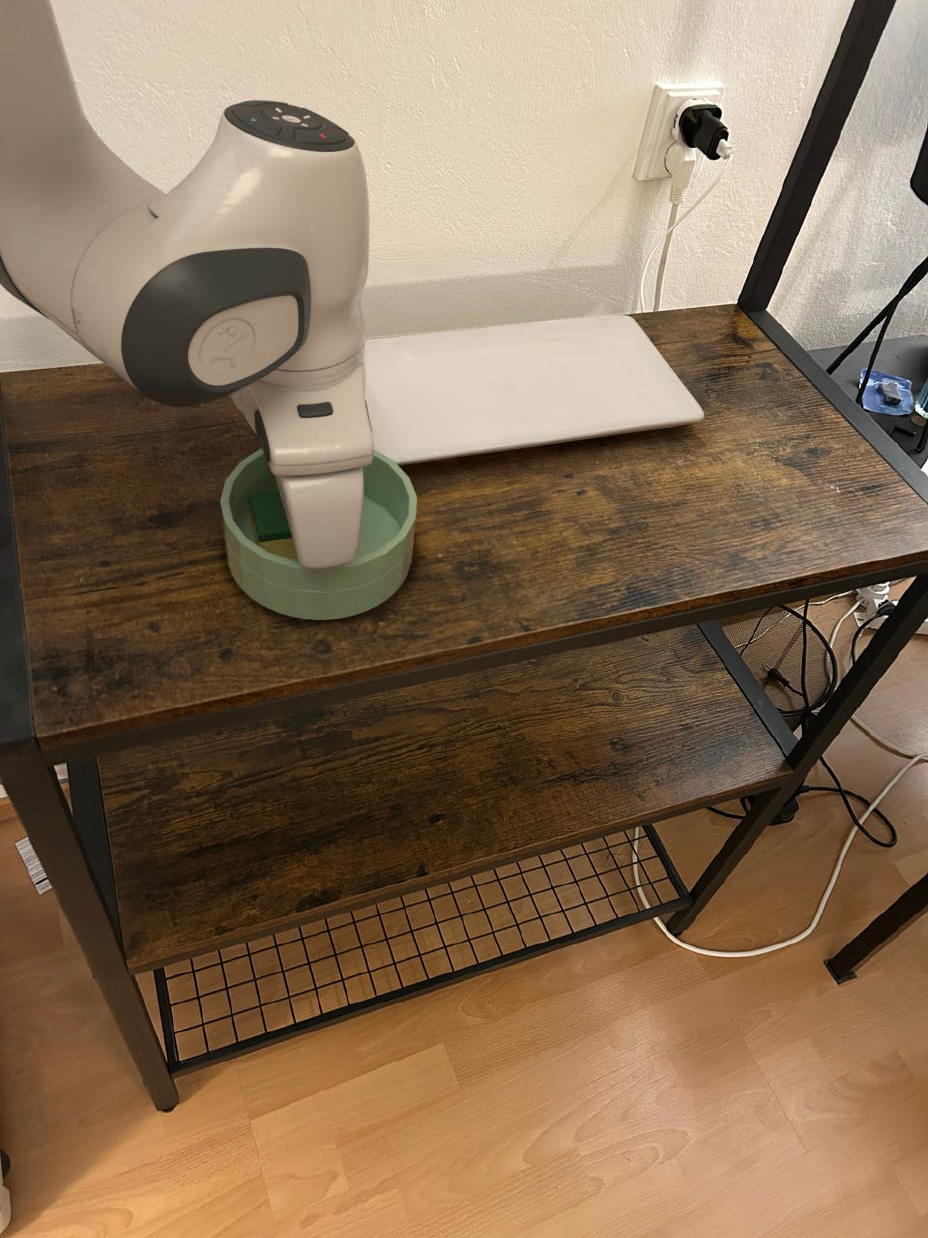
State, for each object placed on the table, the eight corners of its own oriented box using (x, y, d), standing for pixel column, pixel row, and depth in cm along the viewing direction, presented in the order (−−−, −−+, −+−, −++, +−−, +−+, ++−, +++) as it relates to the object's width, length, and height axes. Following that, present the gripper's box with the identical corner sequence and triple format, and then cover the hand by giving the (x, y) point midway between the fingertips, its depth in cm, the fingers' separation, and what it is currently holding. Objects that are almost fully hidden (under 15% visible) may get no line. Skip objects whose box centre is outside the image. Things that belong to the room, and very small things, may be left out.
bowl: (243, 634, 69) (238, 582, 65) (214, 501, 78) (208, 447, 74) (433, 603, 73) (440, 552, 69) (385, 480, 82) (389, 427, 78)
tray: (700, 444, 90) (712, 414, 87) (372, 493, 80) (373, 461, 78) (622, 341, 100) (631, 310, 97) (322, 373, 90) (322, 341, 88)
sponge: (260, 563, 73) (258, 535, 71) (250, 522, 75) (248, 493, 73) (352, 550, 75) (352, 522, 72) (338, 511, 77) (339, 482, 75)
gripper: (223, 286, 69) (236, 440, 79) (277, 475, 57) (283, 627, 67) (311, 280, 71) (312, 431, 81) (381, 463, 58) (372, 613, 69)
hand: (299, 522), depth 74 cm, fingers closed on sponge, 4 cm apart
